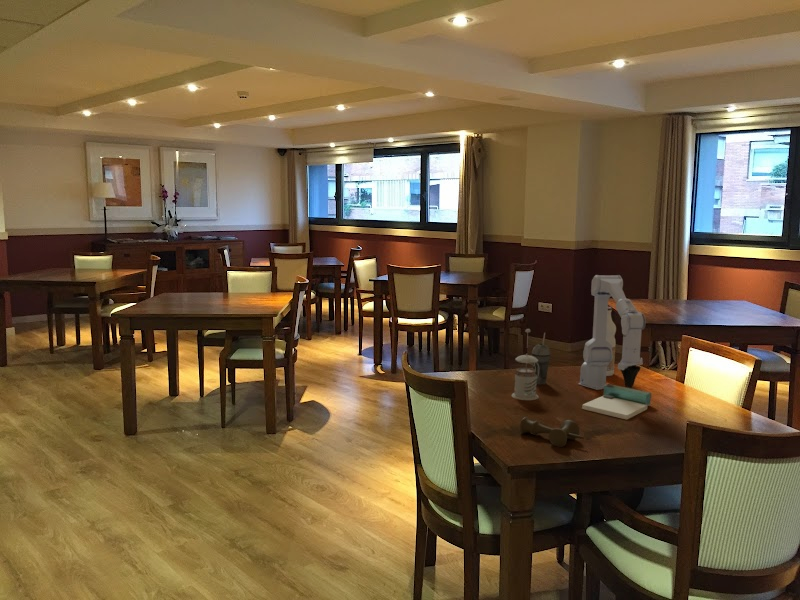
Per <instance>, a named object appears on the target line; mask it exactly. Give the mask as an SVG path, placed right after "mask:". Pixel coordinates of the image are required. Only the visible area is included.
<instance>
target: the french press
mask: <svg viewBox="0 0 800 600" xmlns="http://www.w3.org/2000/svg"><path fill="white" fill-rule="evenodd" d="M524 332H525V333H527V336H526V347H528V341H529V333H531V329H530V328H526V329H525V331H524ZM515 361H516V362H518V363H520V364H521V363H522V364H525V367H519V368H518V367H517V368H516V370H515V371H516V372H515V374H514V392H513V393H512V394H511V397H512V398H513V399H516V400H521V401H536V400H538V399H539V395H538V394H537V384H536V382H537V378H538V376H537V375H536V374H535V373H536V367H535V370H534V369H533V368H528V366H527V365H528V364H530V365H531V366H532V367H533V366H535V363H537V361H538V359H536V358H535V357H533V356H532V355H529V354H523V355H518V356H517V357H515ZM533 363H534V365H533ZM537 364H538V363H537ZM538 368H539V365H538ZM532 374H533V375H532ZM538 375H539V371H538Z"/></svg>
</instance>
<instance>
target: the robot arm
mask: <svg viewBox="0 0 800 600" xmlns="http://www.w3.org/2000/svg"><path fill="white" fill-rule="evenodd" d="M623 287H624V280H623V278H622V276H621V275H620V274H617V275H599V274H595V275H594V276H593V277H592V279H591V287H590V288H591V289H590V292H591V294H590V295H591V296H594V304H593V305H594V306H593V321H592V322H593V326H592V338H591V339H589V340H587V341H586V342H585V343H584V349H583V352H582V356H583V360H584V362H583V363H582V364H581V366H580V372H579V373H580V374H579V382H578V385H579V386H582V387H587V388H590V389H592V390H596V391H599V390H604V386H606V385H607V376H606V374H607V365H609V363H610V362H611V361H612V358H613V352H612V345H611V344H610V343H609V342H608V341H607V340H606V331H607V313H608V307H609V300H610V298H611V297H612V299H613V300H614V301H615V303H616V304H615V309H616V311H617V313H618V315H619V317H620V318H621V319H620V325H621V334H622V336H623V337H622V352H621V359H620V362H618V363H617V370H619V371H620V373H621V375H622V377H623V381H624V387H625V388H630V389H633V387H634V384H635V380H636V378H637V375H638V374H639V372H640V370H641V366H642V365H643V364H644V363H643V357H641V343H642V330H645V328H646V323H647V321H646V317H645V313H643V312H640V311H638V309H637V308H636V307H635V305H634V304H633V301H632V300H631V299H629V298H627V297H626V295H625V292H624V290H623Z"/></svg>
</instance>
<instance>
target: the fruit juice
mask: <svg viewBox="0 0 800 600" xmlns="http://www.w3.org/2000/svg"><path fill="white" fill-rule="evenodd" d="M612 311H613V308H612V307H611V306H608V313H607V331H606V340H607V341H608V342H609V343H610V344H611V345H612V352H613V358H612V361H611V362H610V363H609V365H607V374H606V377H610V376H611V377H612V376H613V375H614V373H615V372H614V371H615V359H616V358H615V357H616V342H617V341H616V338H615V335H616V332H617V326H616V324H615V322H614V321H613V318H612Z"/></svg>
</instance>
